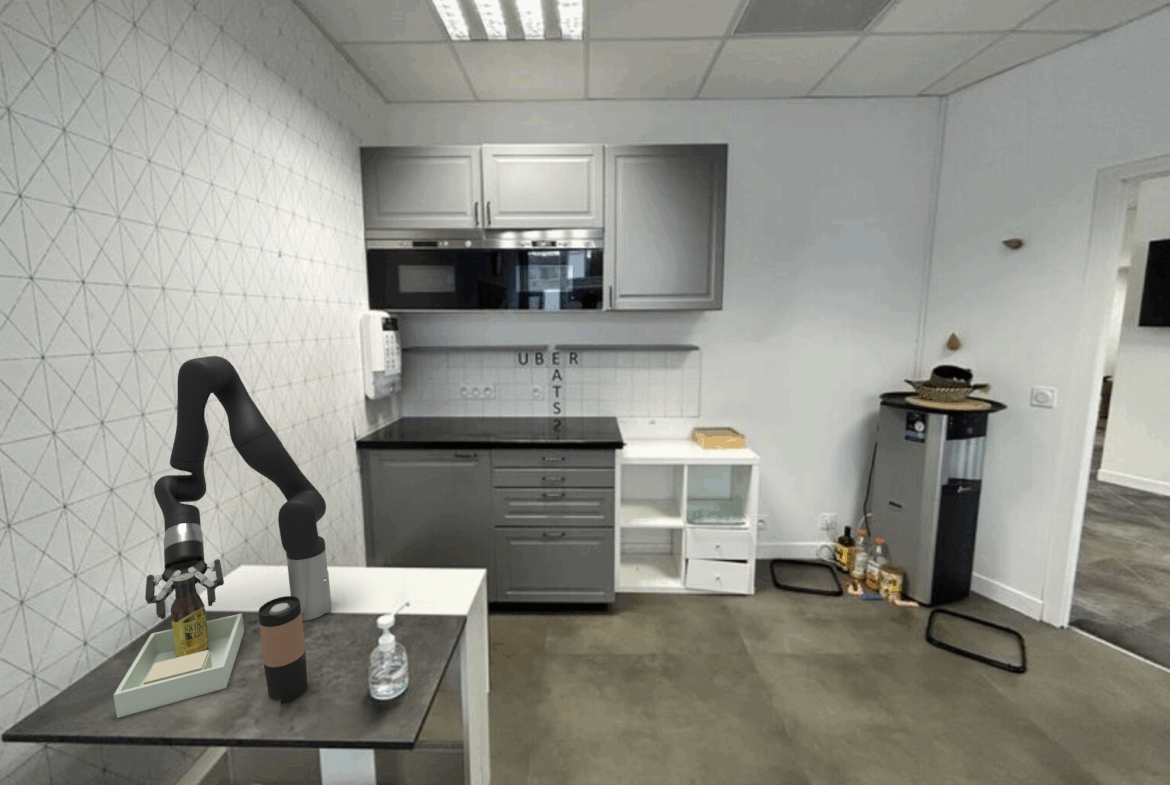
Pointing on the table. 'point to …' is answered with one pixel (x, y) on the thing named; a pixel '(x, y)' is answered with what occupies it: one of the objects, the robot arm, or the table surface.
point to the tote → (160, 648)
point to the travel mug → (283, 648)
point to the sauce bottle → (188, 617)
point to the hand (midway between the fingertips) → (187, 611)
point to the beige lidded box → (179, 666)
